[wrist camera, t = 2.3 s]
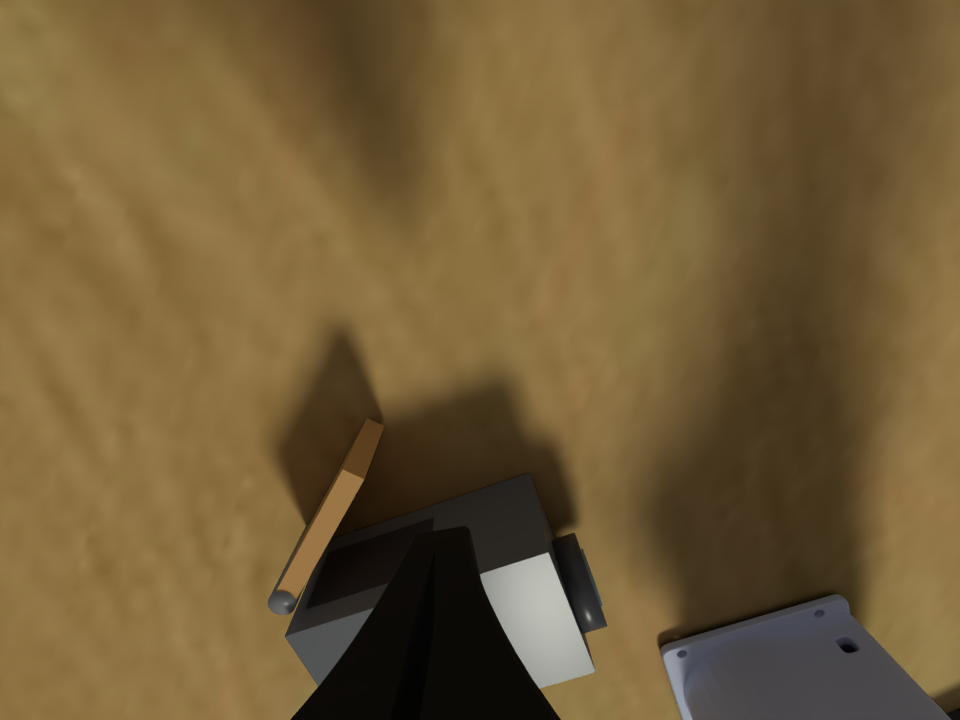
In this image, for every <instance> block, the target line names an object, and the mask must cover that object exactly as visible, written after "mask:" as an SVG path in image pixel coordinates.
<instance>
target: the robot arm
mask: <svg viewBox="0 0 960 720" xmlns="http://www.w3.org/2000/svg"><path fill="white" fill-rule="evenodd" d="M660 654H661V657H662V660H663V663H664V666H665V669H666V672H667V676H668V679H669V682H670V685H671V688H672V691H673V694H674V697H675V700H676V703H677V706H678V709H679V712H680V715H681V718H682V720H951V719H950V718H949V717H948V715H947V714H946V713H945V712H944V711H943V710H942V709H941V708H940V707H939V706H938V705H937V704H936V703H935V702H934V701H933V700H932V699H931V698H930V697H929V696H928V694H927V693H926V692H925V691H924V690H923V689H922V688H921V687H920V686H919V685H918V684H917V683H916V682H915V681H914V680H913V679H912V678H911V677H910V676H909V675H908V674H907V672H906V671H905V670H904V669H903V668H902V667H901V666H900V665H899V664H898V663H897V662H896V661H895V660H894V659H893V658H892V657H891V656H890V655H889V654H888V653H887V651H886V650H885V649H884V648H883V647H882V646H881V645H880V644H879V643H878V642H877V641H876V640H875V639H874V638H873V637H872V636H871V635H870V634H869V633H868V632H867V631H866V629H865V628H864V627H863V626H862V625H861V624H860V623H859V622H858V621H857V620H856V619H855V618H854V617H853V616H852V615H851V614H850V609H849V603H848V601H847V600H846V599H845V598H844V597H843V596H841V595H838V594H835V595H830V596H827V597H823V598H820V599H817V600H813V601H810V602H807V603H803V604H800V605H796V606H793V607H790V608H786V609H783V610H779V611H776V612H773V613H769V614H766V615H762V616H759V617H756V618H752V619H749V620H746V621H742V622H739V623H735V624H732V625H729V626H725V627H722V628H718V629H715V630H712V631H708V632H705V633H701V634H698V635H695V636H691V637H688V638H685V639H681V640H678V641H674V642H671V643H668V644H665V645H664V646H663V647H662V648H661V650H660ZM291 720H561V719H560V718H559V716H558V715H557V714H556V712H555V711H554V709H553V708H552V706H551V705H550V704H549V702H548V701H547V699H546V698H545V696H544V695H543V693H542V692H541V690H540V689H539V688H538V686H537V685H536V683H535V682H534V680H533V679H532V677H531V676H530V674H529V673H528V671H527V669H526V668H525V666H524V664H523V663H522V661H521V660H520V658H519V656H518V655H517V653H516V651H515V649H514V648H513V646H512V644H511V642H510V641H509V639H508V637H507V635H506V633H505V631H504V630H503V628H502V626H501V624H500V622H499V620H498V618H497V616H496V614H495V612H494V609H493V607H492V605H491V603H490V601H489V599H488V596H487V594H486V592H485V589H484V587H483V584H482V581H481V576H480V572H479V568H478V563H477V559H476V554H475V550H474V546H473V541H472V537H471V532H470V529H469V528H467V527H466V526H460V527H455V528H449V529H443V530H437V531H431V532H426V533H420V534H416V535H415V536H414V537H413V538H412V540H411V542H410V544H409V546H408V548H407V550H406V552H405V554H404V556H403V558H402V560H401V561H400V563H399V565H398V567H397V569H396V571H395V572H394V574H393V576H392V578H391V580H390V581H389V583H388V585H387V587H386V588H385V590H384V592H383V593H382V595H381V597H380V598H379V600H378V602H377V604H376V605H375V607H374V609H373V610H372V612H371V613H370V615H369V616H368V618H367V619H366V621H365V622H364V624H363V625H362V627H361V629H360V630H359V632H358V633H357V635H356V636H355V638H354V639H353V641H352V642H351V644H350V645H349V646H348V648H347V649H346V651H345V652H344V654H343V655H342V656H341V658H340V659H339V660H338V662H337V663H336V664H335V666H334V667H333V668H332V670H331V671H330V672H329V674H328V675H327V676H326V678H325V679H324V680H323V681H322V683H321V684H320V685H319V687H318V688H317V689H316V690H315V691H314V693H313V694H312V695H311V696H310V697H309V699H308V700H307V701H306V702H305V703H304V705H303V706H302V707H301V708H300V709H299V710H298V712H297V713H296V714H295V715H294V716H293V717H292V718H291Z"/></svg>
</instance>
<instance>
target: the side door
mask: <svg viewBox="0 0 960 720" xmlns="http://www.w3.org/2000/svg"><path fill="white" fill-rule="evenodd" d="M383 429H384V426H383V425H381V424H379V423H376V422H374V421H372V420H370V419H368V418H367V419H366V421H365V423H364V425H363V426H362V428H361V430H360V432H359V434H358V436H357V438H356V439H355V441H354V443H353V445H352V447H351V449H350V450H349V452H348V454H347V456H346V458H345V460H344V461H343V463H342V465H341V467H340V469H339V471H338V473H337V474H336V476H335V478H334V480H333V482H332V484H331V485H330V487H329V489H328V491H327V493H326V495H325V496H324V498H323V500H322V502H321V504H320V506H319V508H318V509H317V511H316V513H315V515H314V517H313V519H312V520H311V521H310V522H308V523H307V525H306V527H305V529H304V531H303V533H302V535H301V537H300V539H299V541H298V543H297V545H296V547H295V549H294V550H293V552H292V554H291V556H290V558H289V560H288V562H287V564H286V566H285V568H284V570H283V572H282V574H281V576H280V578H279V580H278V582H277V584H276V586H275V588H274V590H273V592H272V594H271V596H270V598H269V600H268V607H269V608H270V610H271V611H273V612H274V613H276V614H279V615H286V614H289V613H291V612H293V610H294V609H295V607H296V604H297V602H298V600H299V597H300V595H301V593H302V590H303V588H304V586H305V583H306V582H307V580H308V578H309V576H310V575H311V573H312V571H313V569H314V568H315V566H316V564H317V562H318V560H319V559H320V557H321V555H322V553H323V552H324V550H325V548H326V546H327V545H328V543H329V541H330V539H331V538H332V536H333V534H334V532H335V530H336V529H337V527H338V525H339V523H340V522H341V520H342V518H343V516H344V515H345V513H346V511H347V509H348V507H349V506H350V504H351V502H352V500H353V499H354V497H355V495H356V493H357V492H358V490H359V488H360V486H361V484H362V483H363V481H364V479H365V476H366V474H367V471H368V468H369V466H370V463H371V460H372V458H373V455H374V453H375V450H376V447H377V445H378V442H379V439H380V437H381V434H382V431H383Z"/></svg>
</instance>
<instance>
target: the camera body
mask: <svg viewBox="0 0 960 720" xmlns="http://www.w3.org/2000/svg"><path fill="white" fill-rule="evenodd" d="M460 526H466V527H467V528H469V529H470V532H471V537H472V541H473V546H474V550H475V554H476V559H477V563H478V568H479V572H480V576H481V581H482V584H483V587H484V589H485V592H486V594H487V596H488V599H489V601H490V603H491V605H492V607H493V609H494V612H495V614H496V616H497V618H498V620H499V622H500V624H501V626H502V628H503V630H504V631H505V633H506V635H507V637H508V639H509V641H510V642H511V644H512V646H513V648H514V649H515V651H516V653H517V655H518V656H519V658H520V660H521V661H522V663H523V664H524V666H525V668H526V669H527V671H528V673H529V674H530V676H531V677H532V679H533V680H534V682H535V683H536V685H537V686H538V688H543V687H546V686H550V685H553V684H556V683H560V682H563V681H567V680H570V679H573V678H577V677H580V676H584V675H587V674H590V673H594V672H596V671H595V668H594V664H593V661H592V657H591V654H590V650H589V647H588V643H587V639H586V636H585V633H587V632H590V631H593V630H597V629H600V628H603V627H607V623H606V620H605V617H604V614H603V611H602V608H601V606H603V605H602V602H601V599H600V596H599V593H598V590H597V587H596V584H595V582H594V579H593V576H592V573H591V570H590V568H589V565H588V562H587V559H586V557H585V554H584V551H583V549H580V546H579V543H578V541H577V538H576V535H575V533H571V534H568V535H565V536H562V537H559V538H556V539H555V538H554V536H553V533H552V531H551V528H550V525H549V523H548V520H547V518H546V515H545V512H544V510H543V507H542V505H541V502H540V499H539V497H538V494H537V492H536V489H535V486H534V484H533V481H532V479H531V476H530V473H527V474H524V475H521V476H518V477H515V478H512V479H509V480H506V481H503V482H500V483H497V484H494V485H491V486H488V487H485V488H482V489H479V490H476V491H473V492H470V493H467V494H464V495H461V496H458V497H455V498H452V499H449V500H446V501H443V502H440V503H437V504H434V505H431V506H428V507H425V508H422V509H419V510H416V511H413V512H410V513H407V514H404V515H401V516H398V517H395V518H392V519H389V520H387V521H384V522H381V523H378V524H375V525H372V526H369V527H366V528H363V529H360V530H357V531H354V532H351V533H348V534H345V535H342V536H339V537H336V538H333V539H330V541H329V543H328V545H327V546H326V548H325V550H324V552H323V553H322V555H321V557H320V559H319V560H318V562H317V564H316V566H315V568H314V569H313V571H312V573H311V576H310V578H309V581H308V583H307V585H306V588H305V590H304V592H303V595H302V597H301V599H300V602H299V604H298V606H297V609H296V611H295V613H294V616H293V618H292V620H291V623H290V625H289V627H288V630H287V632H286V635H285V638H286V639H287V641H288V642H289V644H290V645H291V647H292V648H293V649H294V651H295V652H296V654H297V655H298V657H299V658H300V660H301V661H302V663H303V664H304V666H305V667H306V669H307V670H308V672H309V673H310V675H311V676H312V678H313V679H314V681H315V682H316V684H317V685H318V687H319V685H320V684H321V683H322V681H323V680H324V679H325V678H326V676H327V675H328V674H329V672H330V671H331V670H332V668H333V667H334V666H335V664H336V663H337V662H338V660H339V659H340V658H341V656H342V655H343V654H344V652H345V651H346V649H347V648H348V646H349V645H350V644H351V642H352V641H353V639H354V638H355V636H356V635H357V633H358V632H359V630H360V629H361V627H362V625H363V624H364V622H365V621H366V619H367V618H368V616H369V615H370V613H371V612H372V610H373V609H374V607H375V605H376V604H377V602H378V600H379V598H380V597H381V595H382V593H383V592H384V590H385V588H386V587H387V585H388V583H389V581H390V580H391V578H392V576H393V574H394V572H395V571H396V569H397V567H398V565H399V563H400V561H401V560H402V558H403V556H404V554H405V552H406V550H407V548H408V546H409V544H410V542H411V540H412V538H413V537H414V536H415V535H416V534H420V533H426V532H431V531H437V530H443V529H449V528H455V527H460Z"/></svg>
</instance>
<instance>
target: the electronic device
mask: <svg viewBox="0 0 960 720" xmlns="http://www.w3.org/2000/svg"><path fill="white" fill-rule="evenodd" d="M947 715H948V717H949V718H950V719H951V720H960V708H958V710H954V711H951V712H949V713H947Z"/></svg>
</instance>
